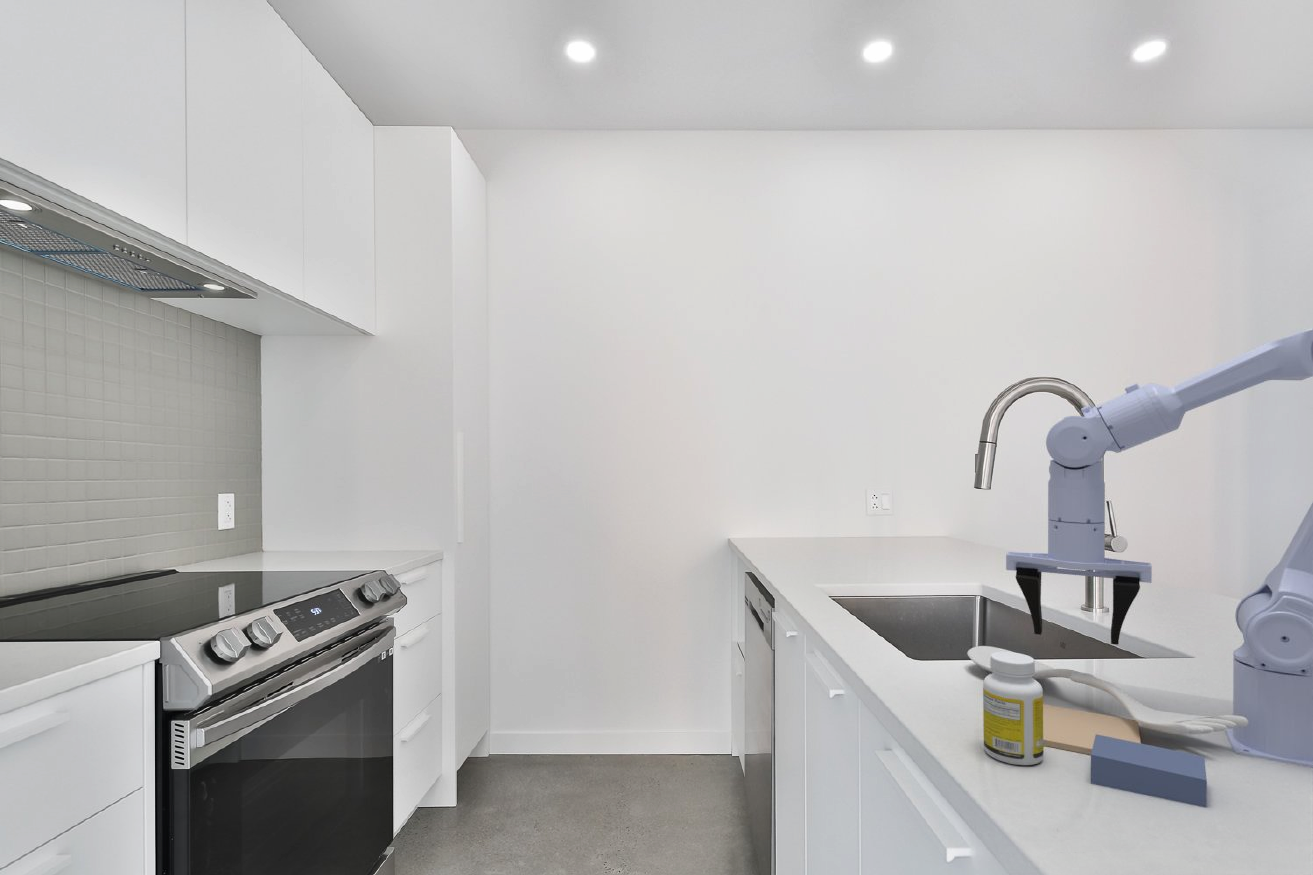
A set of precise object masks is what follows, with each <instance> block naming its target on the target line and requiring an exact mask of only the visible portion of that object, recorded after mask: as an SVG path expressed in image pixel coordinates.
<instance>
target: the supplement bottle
mask: <svg viewBox="0 0 1313 875" xmlns="http://www.w3.org/2000/svg"><path fill="white" fill-rule="evenodd" d="M1034 660H1035V659H1034V657H1032V656H1030V655H1026V654H1024V653H1020V652H1019V653H1018V652H1015V653H1014V651H1012V652H995V653H992V654H991V659H990V666H991V670H992V671H993V673H992V672H991V673H990V674H988V675H987V676H986V677H985V678H983V679H984V680H983V681H982V682H983V684H982V697H983V698H982V700H983V701H982V702H983V703H982V705H983V706H982V707H983V710H982V711H983V714H982V716H983V717H982V719H983V720H982V721H983V729H982V730H983V748H984V751H985V752H986V753H987V755H989V756H990V757H992V758H993V759H995V760H996V761H1000V762H1003V763H1005V764H1010V765H1014V766H1031V765H1032V766H1033V765H1036V764H1040V763H1042V761H1043V759H1044V745H1043V704H1044V693H1043V692H1044V690H1043V687H1042V685H1041V683H1040V682H1038V680H1037V679H1033V678H1032V676H1033V675H1034V674H1035V673H1034V672H1035V661H1036V660H1035V661H1034Z"/></svg>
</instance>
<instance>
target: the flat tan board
mask: <svg viewBox="0 0 1313 875" xmlns="http://www.w3.org/2000/svg"><path fill="white" fill-rule="evenodd" d="M1096 734H1098V735H1102V736H1107V737H1112V738H1117V739H1122V740H1126V741H1131V742H1136V743H1141V744H1142V742H1141V735H1140V726H1139V723H1138V722H1137V721H1135V720H1134V719H1130V718H1124V717H1120V716H1119V717H1118V716H1113V715H1107V714H1103V713H1102V714H1101V713H1097V712H1090V711H1083V710H1078V709H1073V708H1072V709H1071V708H1068V707H1067V708H1066V707H1061V706H1054V705H1050V704H1044V703H1043V747H1050V748H1053V749H1054V748H1055V749H1060V750H1065V751H1070V752H1074V753H1080V754H1085V755H1090V756H1091V752H1092V748H1093V744H1094V740H1095V736H1096Z"/></svg>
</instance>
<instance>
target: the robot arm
mask: <svg viewBox="0 0 1313 875" xmlns="http://www.w3.org/2000/svg"><path fill="white" fill-rule="evenodd" d="M1312 377H1313V328H1309V329H1306V330H1303V331H1299V332H1296V333H1294V334H1291V335H1290V334H1289V335H1287V336H1284V337H1281V338H1277V339H1275V340H1272V341H1270V342H1268V343H1265V344H1263V345H1261V346H1258V347H1257V348H1253V349H1252V350H1250V351H1247V352H1245V353H1243V354H1241V355H1238V356H1236V357H1234V358H1232V359H1230V360H1228V361H1225V362H1223V363H1222V364H1219V365H1217V366H1214V367H1212V368H1210V369H1208V370H1206V371H1203V372H1201V373H1200V374H1197V375H1194V376H1193V377H1191V378H1189V379H1186V380H1184V381H1181V382H1179V383H1178V384H1175V385H1173V386H1165V385H1162V384H1161V385H1160V384H1157V383H1152V382H1149V383H1146V384H1144V385H1142V386H1139V384H1138V383H1133V384H1131V385H1128V386H1126V387H1125V388H1124V391H1125V393H1124V394H1121V395H1119V396H1116V397H1115V398H1113V399H1110V400H1107V401H1105V402H1103V403H1101V404H1099V405H1097V406H1094V407H1092V406H1091V405H1086V406H1084V407H1082V408H1081V409H1080V411H1081V413H1082V415H1083V416H1080V415H1068V416H1064V417H1063V419H1061V420H1060V421H1058V422H1057V423H1056V422H1055V424H1054V425H1053V426H1052V427H1051V428H1050V430H1049V431H1048V433H1047V436H1046V440H1045V444H1046V450H1047V453H1048V454H1049V456H1050V457H1051V458H1052V459H1051V460H1050V462H1049V463H1050V464H1049V466H1048V472H1049V476H1050V477H1049V478H1050V479H1049V480H1048V481H1047V488H1048V489H1047V519H1048V520H1047V523H1048V524H1047V553H1039V552H1037V553H1036V552H1035V553H1034V552H1014V551H1008V552H1007V553H1006V554H1005V570H1006V571H1012V572H1013V571H1014V572H1015V571H1016V572H1015V580H1016V582H1017V584H1018V586H1019V588H1020V591H1021V592H1022V594H1023V597H1024V599H1025V602H1026V604H1027V606H1028V609H1029V610H1028V611H1029V613H1030V617H1031V620H1032V625H1033V630H1034V632H1033V633H1034V635H1040V636H1041V635H1042V633H1043V614H1042V603H1041V602H1042V601H1041V600H1042V573H1049V574H1059V575H1070V576H1071V575H1072V576H1073V575H1074V576H1080V577H1081V576H1084V577H1094V578H1104V579H1105V578H1106V579H1112V615H1111V616H1112V617H1111V618H1112V619H1111V627H1110V643H1111V644H1110V645H1117V646H1118V645H1119V642H1120V641H1119V640H1120V634H1121V630H1122V627H1123V625H1124V621H1125V620H1126V619H1125V618H1126V616H1127V614H1128V612H1129V609H1130V608H1131V606H1132V605H1133V603H1134V601H1135V599H1136V597H1137V596H1138V593H1139V592H1140V590H1141V585H1140V583H1147V584H1148V583H1149V584H1151V583H1152V581H1153V580H1152V579H1153V578H1152V575H1153V574H1152V571H1153V569H1152V567H1153V566H1152V563H1151V562H1142V561H1132V560H1126V559H1125V560H1123V559H1117V558H1116V559H1115V558H1108V557H1105V556H1106V554H1105V552H1106V550H1105V548H1106V539H1105V538H1106V536H1105V535H1106V534H1105V533H1106V531H1105V530H1106V527H1105V526H1106V520H1105V519H1106V518H1105V516H1106V515H1105V513H1106V510H1105V508H1106V506H1105V505H1106V504H1105V502H1106V494H1105V493H1106V483H1105V481H1104V480H1103V460H1101V459H1103V457H1104V456H1105V454H1106V452H1107V451H1109V452H1114V453H1116V454H1118V453H1121V452H1124V451H1126V450H1129V449H1132V448H1134V447H1137V446H1138V445H1143V443H1147V442H1149V441H1151V440H1154V439H1157V438H1159V437H1161V436H1164V435H1166V434H1169V433H1172V432H1174V431H1177V430H1178V429H1179V428H1180V426H1181V423H1182V421H1183V418H1184V416H1185V414H1186V413H1187V412H1190V411H1192V410H1195V409H1197V408H1199V407H1202V406H1204V405H1207V404H1211V403H1213V402H1215V401H1217V400H1220V399H1223V398H1225V397H1228V396H1229V397H1230V396H1231V395H1233V394H1234V395H1235V394H1236V393H1238V392H1241V391H1244V390H1248V389H1249V388H1252V387H1254V386H1256V385H1260V384H1262V383H1265V382H1268V381H1304V380H1306V379H1308V378H1312ZM1235 622H1236V625H1237V627H1238V630H1239V631H1240V632H1241V634H1242V638H1243V643H1242V645H1240V647H1238V648H1236V649H1235V650H1233V652H1232V654H1233V657H1232V658H1233V662H1232V663H1233V664H1232V665H1233V670H1232V672H1233V674H1232V678H1233V679H1232V680H1233V681H1232V682H1233V684H1232V685H1233V687H1232V690H1233V691H1232V692H1233V694H1232V699H1233V700H1232V711H1233V712H1232V715H1235V716H1242V717H1245V718H1246V719H1247V720H1248V722H1249V723H1248V725H1247V726H1244V727H1241V726H1236V727H1235V728H1231V729H1226V730H1224V732H1225V734H1226V737H1227V739H1228V742H1229V744H1230V748H1231V750H1232V751H1233V753H1234V754H1236V755H1241V756H1246V757H1252V758H1256V759H1262V760H1268V761H1274V762H1278V763H1284V764H1289V765H1295V766H1300V767H1301V766H1302V767H1306V768H1310V769H1312V768H1313V502H1312V503H1311V505H1310V507H1309V508H1308V509H1307V511H1306V513H1305V516H1304V517H1303V519H1302V521H1301V523H1300V525H1299V526H1298V528H1297V531H1296V532H1295V534H1294V536H1293V537H1292V538H1291V541H1290V543H1289V544H1288V546H1287V548H1286V549H1285V552H1284V554H1283V555H1282V557H1281V559H1280V561H1279V562H1278V563H1277V565H1276V566H1275V567H1274V568H1273V569H1272V570H1271V571H1270V572H1269V573H1268V574H1267V576H1266V577H1265V579H1264V581H1263V583H1262V584H1261V585H1260V587H1259V588H1258V589H1256V590H1255V591H1253V592H1252V593H1250V594H1249V593H1248V595H1246V596H1245V597H1243V598H1242V599H1241V600H1240V602H1239V603H1238V604H1237V607H1236V610H1235Z"/></svg>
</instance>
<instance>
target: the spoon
mask: <svg viewBox="0 0 1313 875" xmlns="http://www.w3.org/2000/svg"><path fill="white" fill-rule="evenodd" d="M995 652H1014V651H1011V650H1009V649H1005V648H999V647H995V646H988V645H979V646H974V647H972V648H969V649H968V651H967V653H966V655H967V656H968V657H969V659H970V660H971V661H972V662H973V663H975V664H976V665H978V666H979V667H981V668H983V669H984V670H985V671H986V670H987V671H988V672H990V673H991V674H992V673H993V671H992V670H991V666H990V659H991V654H992V653H995ZM1014 653H1016V652H1014ZM1034 661H1035V672H1034V673H1035V674H1034V675H1033V676H1032V678H1033V679H1034V680H1039V679H1047V678H1049V679H1051V678H1065V679H1070V680H1071V681H1072V682H1074V683H1078V684H1082V685H1086V686H1090V687H1092V688H1096V689H1098V690H1101V691H1104V692H1105V693H1107V694H1109V695H1110V696H1112V697H1113V698H1114V699H1115V700H1117V701H1118V703H1120V704H1121V705H1122V706H1123V707H1124V709H1125V710H1126V711H1127V712H1128V714H1129V715H1130V716H1131V717H1132V720H1135V721H1137V722H1138V725H1140V726H1143V727H1146V728H1149V729H1152V730H1153V731H1157V732H1161V733H1165V734H1170V735H1171V734H1173V735H1185V736H1186V735H1188V736H1191V735H1202V734H1203V735H1205V734H1211V733H1213V732H1223V731H1225V730H1226V729H1231V728H1235V727H1236V726H1241V727H1244V726H1247V725H1248V723H1249V722H1248V720H1247V719H1246V718H1245V717H1242V716H1235V715H1233V714H1232V715H1231V714H1229V715H1228V714H1224V715H1211V716H1210V715H1209V716H1206V715H1205V716H1204V715H1195V714H1188V713H1180V712H1169V711H1163V710H1157V709H1154V708H1151V707H1149V706H1146V705H1144V704H1142V703H1141V702H1139V701H1137V700H1136V699H1135V698H1133V697H1132V696H1131V695H1129V694H1127V693H1126V692H1125V691H1124V690H1122V689H1121V688H1120V687H1118V686H1116V685H1115V684H1113V683H1110V681H1109V682H1108V681H1107V680H1103V679H1101V678H1098V677H1096V676H1094V675H1092V674H1090V673H1087V672H1083V671H1082V672H1081V671H1077V670H1074V669H1069V668H1054V667H1052V666H1049V665H1046V664H1045V663H1042V662H1040V661H1037V660H1036V659H1034Z"/></svg>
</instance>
